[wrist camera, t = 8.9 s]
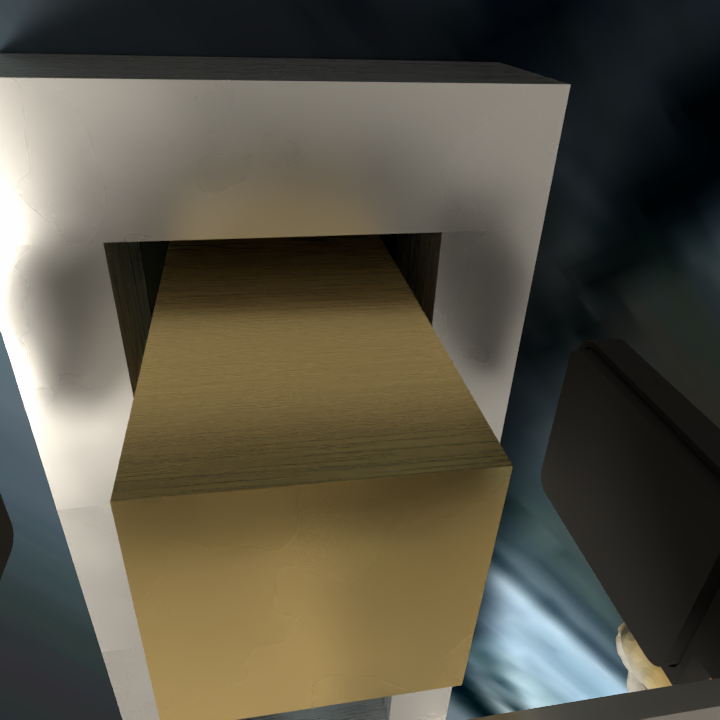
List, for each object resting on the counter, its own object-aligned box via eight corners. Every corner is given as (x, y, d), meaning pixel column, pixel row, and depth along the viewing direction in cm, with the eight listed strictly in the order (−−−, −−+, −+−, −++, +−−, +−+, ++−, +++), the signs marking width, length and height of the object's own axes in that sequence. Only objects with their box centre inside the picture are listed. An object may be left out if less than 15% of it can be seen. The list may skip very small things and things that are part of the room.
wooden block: (359, 373, 15) (461, 685, 8) (193, 383, 14) (162, 731, 8) (368, 216, 13) (512, 466, 6) (174, 219, 12) (109, 501, 6)
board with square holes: (415, 667, 22) (438, 754, 20) (159, 706, 21) (150, 806, 18) (499, 62, 12) (571, 84, 9) (-4, 52, 10) (-79, 76, 8)
